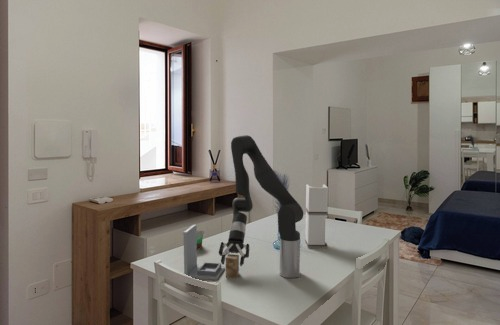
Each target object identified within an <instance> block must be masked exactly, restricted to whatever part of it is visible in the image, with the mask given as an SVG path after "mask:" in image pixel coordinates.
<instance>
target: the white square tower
mask: <svg viewBox="0 0 500 325" xmlns="http://www.w3.org/2000/svg"><path fill="white" fill-rule="evenodd" d="M305 185H306V186H305V187H306V190H305V233H304V234H305V239H304V241H305V244H306V247H307V248H308V249H327V248H328V245H327V242H326V219H328V208H329V206H328V205H329V187H328V186H327V185H326V184H322V186H318V187H316V186H310V185H309V184H305Z"/></svg>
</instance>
